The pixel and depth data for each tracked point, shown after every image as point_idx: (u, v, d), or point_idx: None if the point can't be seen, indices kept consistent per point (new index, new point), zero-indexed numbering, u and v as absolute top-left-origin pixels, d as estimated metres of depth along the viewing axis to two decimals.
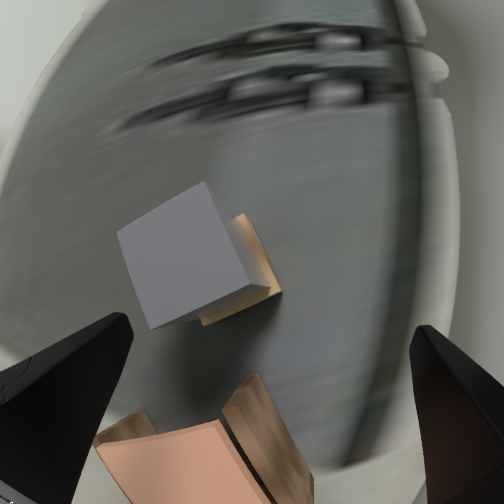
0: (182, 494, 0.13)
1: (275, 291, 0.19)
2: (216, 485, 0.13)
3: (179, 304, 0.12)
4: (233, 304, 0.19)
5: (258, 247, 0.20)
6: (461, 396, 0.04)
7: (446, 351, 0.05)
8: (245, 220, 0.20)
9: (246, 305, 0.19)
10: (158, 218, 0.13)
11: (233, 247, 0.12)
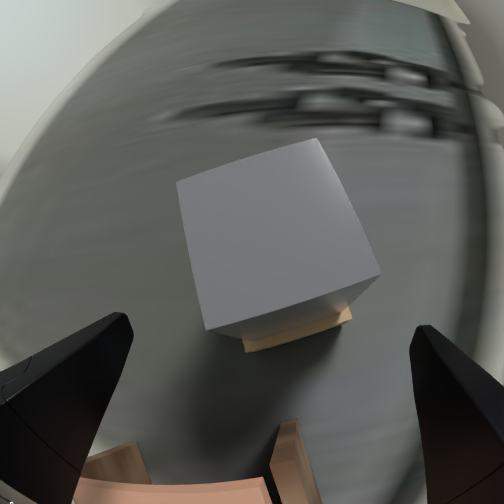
0: None
1: (345, 318, 0.15)
2: None
3: (266, 294, 0.08)
4: (292, 328, 0.14)
5: None
6: (461, 396, 0.04)
7: (446, 351, 0.05)
8: None
9: (307, 332, 0.15)
10: (247, 171, 0.09)
11: (358, 222, 0.08)
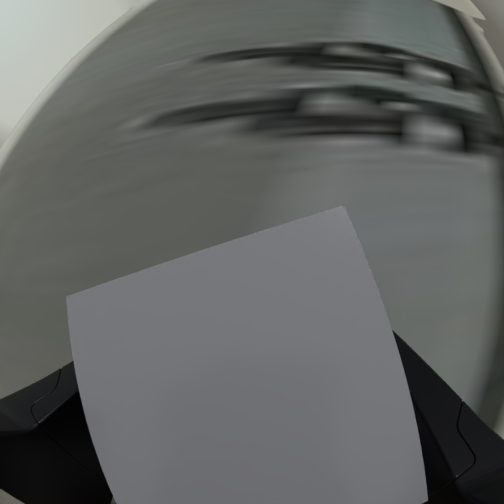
0: None
1: None
2: None
3: None
4: None
5: None
6: None
7: (400, 355, 0.06)
8: None
9: None
10: (183, 292, 0.04)
11: (412, 419, 0.03)
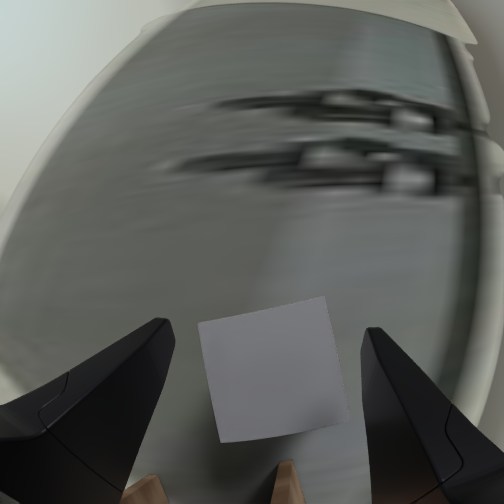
0: None
1: None
2: None
3: (265, 426, 0.09)
4: None
5: None
6: (400, 406, 0.05)
7: (389, 356, 0.06)
8: None
9: None
10: (259, 325, 0.11)
11: (342, 380, 0.09)
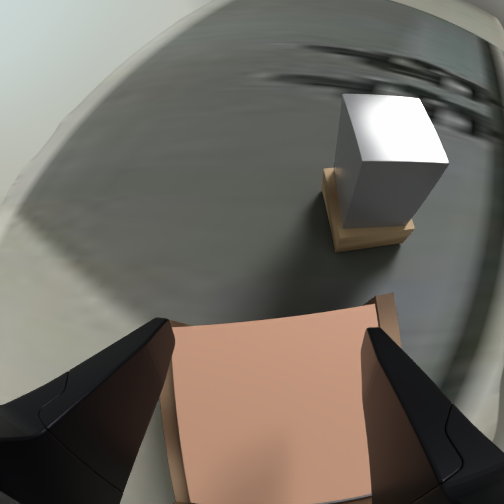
0: (282, 412, 0.12)
1: (410, 227, 0.19)
2: (343, 396, 0.11)
3: (394, 153, 0.12)
4: (373, 225, 0.19)
5: None
6: (400, 406, 0.05)
7: (389, 356, 0.06)
8: None
9: (384, 231, 0.19)
10: (383, 101, 0.13)
11: (438, 139, 0.12)
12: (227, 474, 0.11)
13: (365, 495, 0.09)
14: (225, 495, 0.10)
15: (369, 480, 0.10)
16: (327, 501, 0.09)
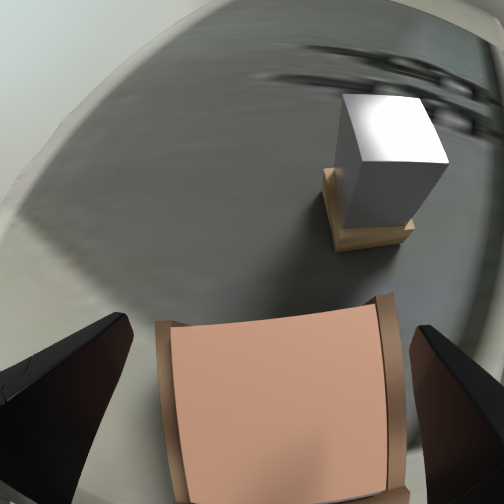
0: (282, 412, 0.12)
1: (410, 227, 0.19)
2: (343, 396, 0.11)
3: (395, 153, 0.12)
4: (373, 225, 0.19)
5: None
6: (461, 396, 0.04)
7: (446, 351, 0.05)
8: None
9: (384, 231, 0.19)
10: (383, 101, 0.13)
11: (438, 139, 0.12)
12: (227, 474, 0.11)
13: (365, 495, 0.09)
14: (225, 495, 0.10)
15: (369, 480, 0.10)
16: (327, 501, 0.09)
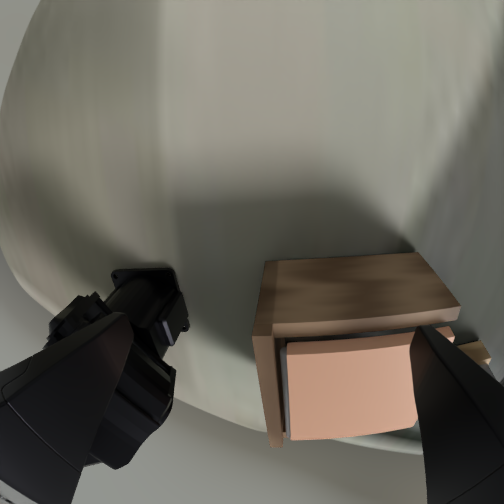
0: (372, 402, 0.16)
1: None
2: (370, 422, 0.17)
3: None
4: None
5: None
6: (461, 396, 0.04)
7: (446, 351, 0.05)
8: None
9: None
10: None
11: None
12: (325, 379, 0.15)
13: (289, 433, 0.18)
14: (301, 378, 0.15)
15: (303, 435, 0.18)
16: (290, 421, 0.17)
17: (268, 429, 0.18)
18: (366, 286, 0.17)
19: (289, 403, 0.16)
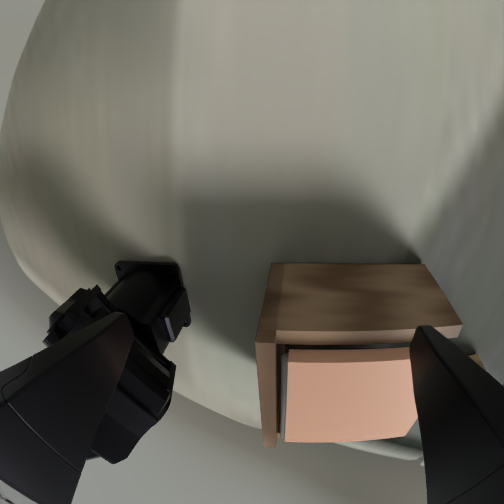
0: (367, 410, 0.16)
1: None
2: (363, 429, 0.17)
3: None
4: None
5: None
6: (461, 396, 0.04)
7: (446, 351, 0.05)
8: None
9: None
10: None
11: None
12: (324, 387, 0.15)
13: (283, 435, 0.18)
14: (300, 384, 0.15)
15: (297, 437, 0.18)
16: (285, 424, 0.18)
17: (263, 430, 0.18)
18: (371, 297, 0.17)
19: (286, 407, 0.17)
